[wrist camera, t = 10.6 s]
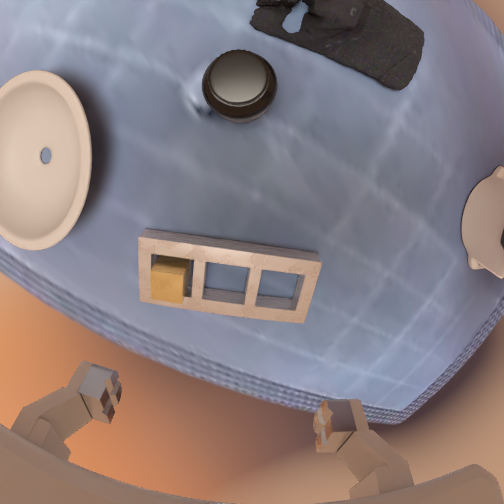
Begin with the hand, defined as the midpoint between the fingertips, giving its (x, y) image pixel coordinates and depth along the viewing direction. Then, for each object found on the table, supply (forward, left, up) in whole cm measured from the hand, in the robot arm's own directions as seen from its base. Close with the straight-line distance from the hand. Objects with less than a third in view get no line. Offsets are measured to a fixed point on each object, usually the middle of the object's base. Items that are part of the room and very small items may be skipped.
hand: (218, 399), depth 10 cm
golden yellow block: (+7, +10, -28) cm, 30 cm away
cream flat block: (0, +10, -28) cm, 30 cm away
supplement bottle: (+2, -13, -28) cm, 31 cm away
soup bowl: (+29, -4, -28) cm, 40 cm away
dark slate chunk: (-9, -27, -29) cm, 40 cm away
